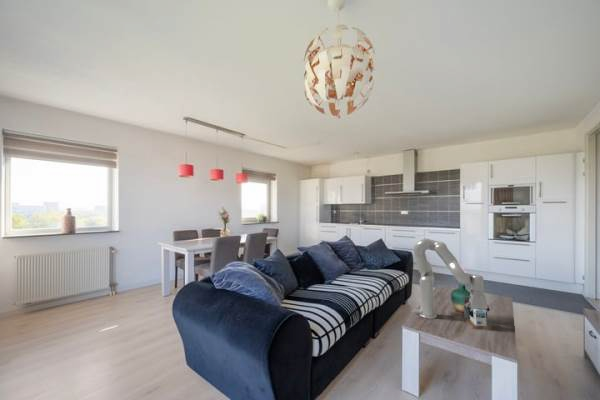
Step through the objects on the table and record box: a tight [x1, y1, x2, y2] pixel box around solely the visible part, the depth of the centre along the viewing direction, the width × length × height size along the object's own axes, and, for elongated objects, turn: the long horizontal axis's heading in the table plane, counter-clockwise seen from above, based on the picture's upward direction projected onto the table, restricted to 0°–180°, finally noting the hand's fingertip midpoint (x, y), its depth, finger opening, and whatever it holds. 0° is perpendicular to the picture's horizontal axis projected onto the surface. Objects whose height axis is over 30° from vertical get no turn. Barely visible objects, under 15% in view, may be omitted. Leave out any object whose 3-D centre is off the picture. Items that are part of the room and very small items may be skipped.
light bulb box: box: [469, 306, 487, 326], centre depth 182 cm, size 11×7×11 cm, turn 168°
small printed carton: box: [463, 295, 493, 331], centre depth 183 cm, size 12×14×18 cm
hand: (478, 316), depth 181 cm, fingers open, 8 cm apart
